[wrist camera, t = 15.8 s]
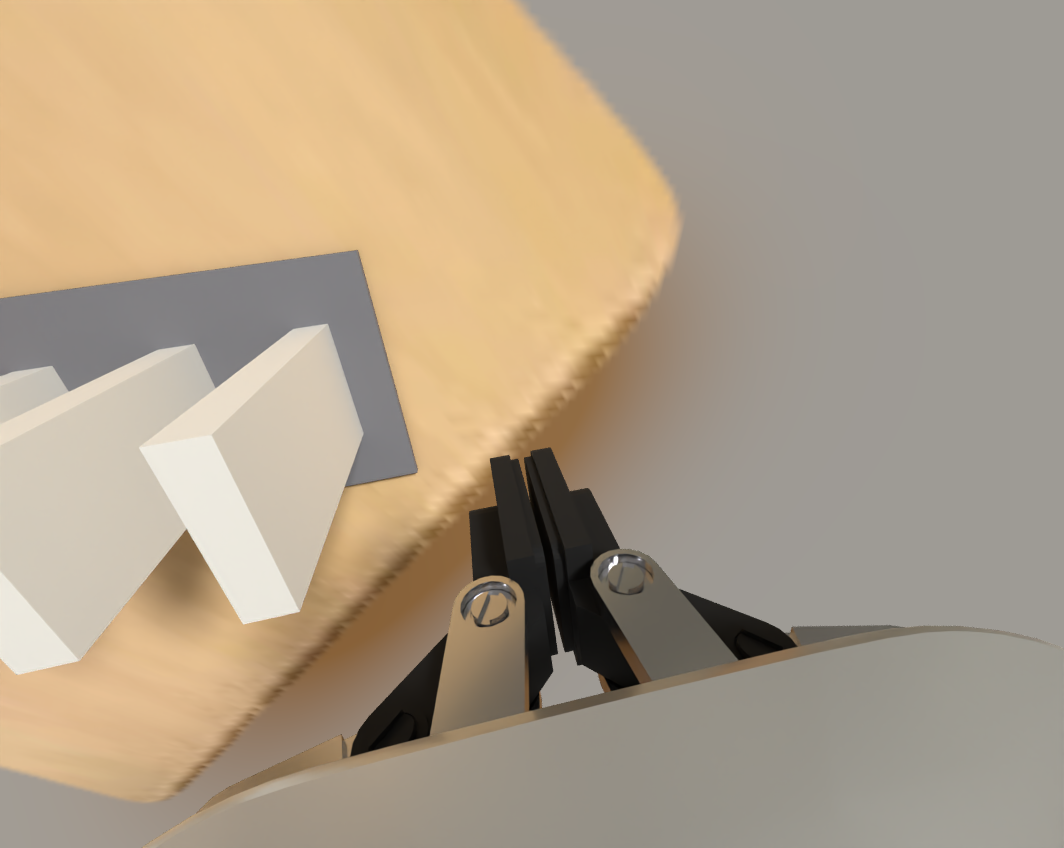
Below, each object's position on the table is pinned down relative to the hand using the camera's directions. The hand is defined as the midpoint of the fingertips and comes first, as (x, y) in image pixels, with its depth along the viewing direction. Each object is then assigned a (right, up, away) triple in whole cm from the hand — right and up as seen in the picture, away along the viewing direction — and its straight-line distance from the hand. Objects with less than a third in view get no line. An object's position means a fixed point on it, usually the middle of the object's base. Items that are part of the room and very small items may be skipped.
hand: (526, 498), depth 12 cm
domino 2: (-10, +4, +10) cm, 15 cm away
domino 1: (-16, +3, +10) cm, 19 cm away
